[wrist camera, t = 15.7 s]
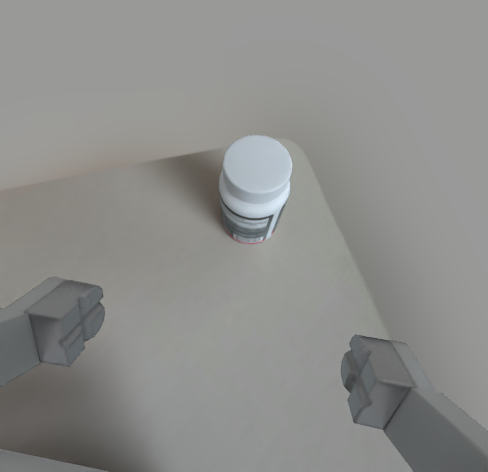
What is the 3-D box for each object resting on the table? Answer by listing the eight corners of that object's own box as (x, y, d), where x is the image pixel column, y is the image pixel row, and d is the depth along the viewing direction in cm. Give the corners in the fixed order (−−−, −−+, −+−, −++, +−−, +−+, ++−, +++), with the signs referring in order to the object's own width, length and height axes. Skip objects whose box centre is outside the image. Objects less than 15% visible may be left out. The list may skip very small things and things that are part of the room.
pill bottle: (251, 186, 24) (260, 115, 16) (287, 223, 23) (316, 165, 15) (210, 217, 23) (199, 156, 15) (246, 257, 22) (255, 214, 14)
